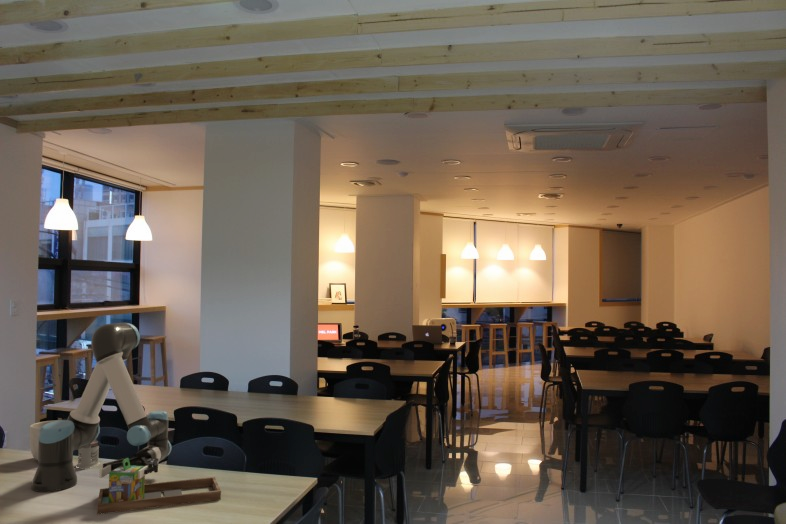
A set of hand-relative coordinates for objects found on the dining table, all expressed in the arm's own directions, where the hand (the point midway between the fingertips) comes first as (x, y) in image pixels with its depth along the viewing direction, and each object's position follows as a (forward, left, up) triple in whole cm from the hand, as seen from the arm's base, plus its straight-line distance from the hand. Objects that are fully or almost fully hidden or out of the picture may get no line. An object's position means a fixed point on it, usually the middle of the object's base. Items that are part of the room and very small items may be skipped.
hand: (119, 474), depth 209 cm
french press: (-58, -13, -11) cm, 60 cm away
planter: (-74, -29, -11) cm, 80 cm away
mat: (-2, +1, -11) cm, 11 cm away
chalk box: (-1, +3, -10) cm, 11 cm away
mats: (-2, +14, -11) cm, 17 cm away
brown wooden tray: (-2, +14, -11) cm, 17 cm away
